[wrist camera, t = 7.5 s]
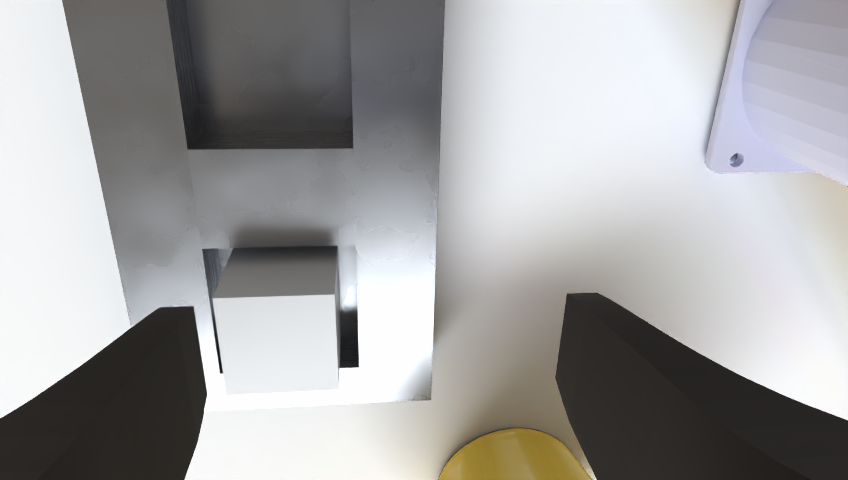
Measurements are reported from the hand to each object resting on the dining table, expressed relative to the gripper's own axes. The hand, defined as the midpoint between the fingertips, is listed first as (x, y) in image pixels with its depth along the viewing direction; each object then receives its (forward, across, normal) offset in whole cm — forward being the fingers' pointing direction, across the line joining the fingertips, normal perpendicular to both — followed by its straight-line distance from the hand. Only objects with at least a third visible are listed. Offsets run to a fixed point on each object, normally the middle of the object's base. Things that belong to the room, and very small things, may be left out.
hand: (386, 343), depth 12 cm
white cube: (+10, +3, +4) cm, 11 cm away
